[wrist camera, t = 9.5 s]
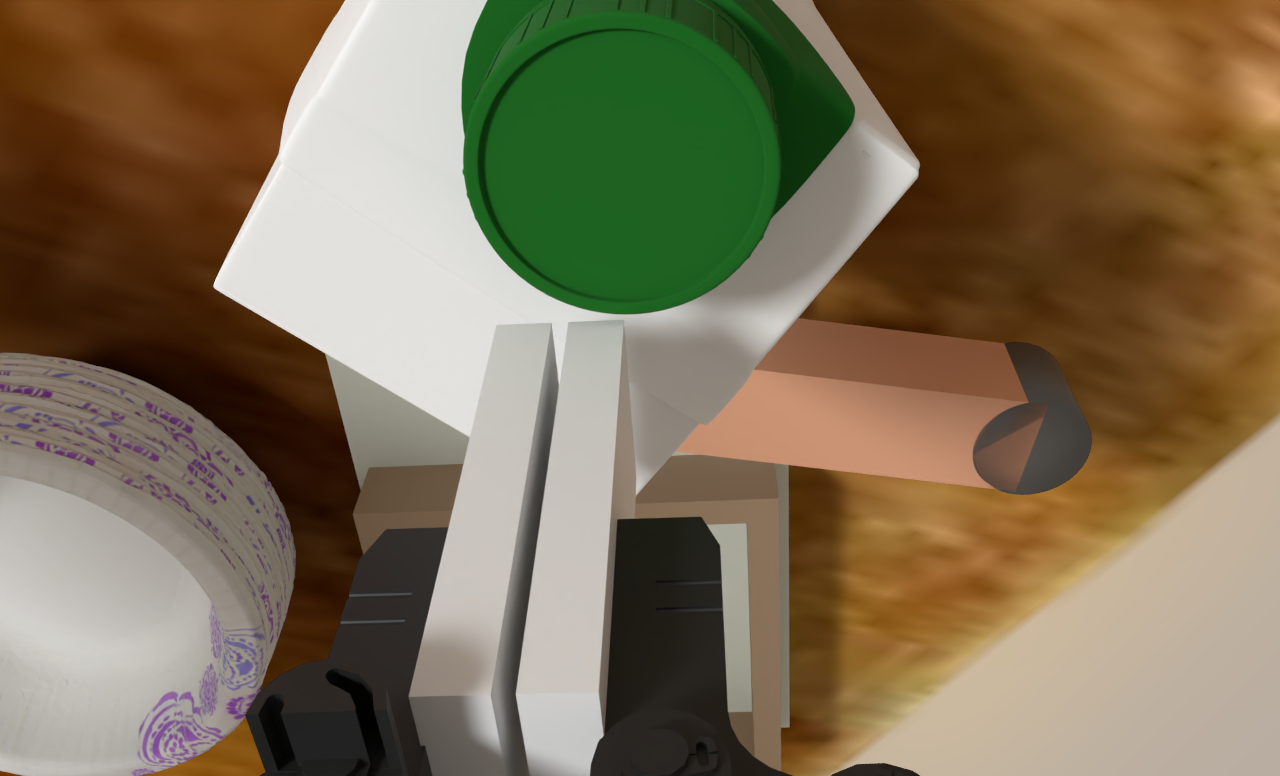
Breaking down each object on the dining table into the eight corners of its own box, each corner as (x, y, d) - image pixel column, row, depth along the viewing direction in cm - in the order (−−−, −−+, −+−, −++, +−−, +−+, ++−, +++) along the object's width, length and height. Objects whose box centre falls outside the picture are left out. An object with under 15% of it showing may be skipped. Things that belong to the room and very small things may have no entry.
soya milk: (850, -74, 32) (1020, 224, 15) (654, 185, 36) (612, 654, 19) (576, -290, 30) (407, -229, 13) (400, 13, 34) (90, 369, 17)
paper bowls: (309, 655, 49) (251, 823, 42) (-77, 590, 48) (-199, 753, 41) (336, 347, 41) (268, 497, 34) (-133, 256, 39) (-297, 394, 33)
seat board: (429, 713, 51) (412, 789, 47) (297, 189, 37) (262, 245, 34) (787, 704, 50) (794, 780, 46) (784, 162, 36) (794, 218, 33)
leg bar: (471, 374, 36) (455, 434, 33) (476, 269, 34) (460, 324, 31) (1041, 442, 37) (1067, 506, 34) (1080, 343, 35) (1110, 402, 32)
